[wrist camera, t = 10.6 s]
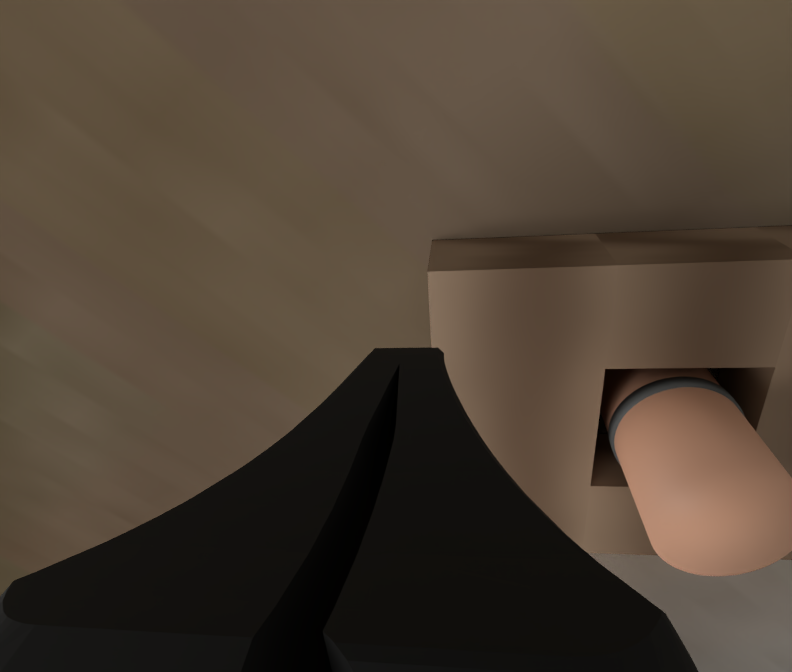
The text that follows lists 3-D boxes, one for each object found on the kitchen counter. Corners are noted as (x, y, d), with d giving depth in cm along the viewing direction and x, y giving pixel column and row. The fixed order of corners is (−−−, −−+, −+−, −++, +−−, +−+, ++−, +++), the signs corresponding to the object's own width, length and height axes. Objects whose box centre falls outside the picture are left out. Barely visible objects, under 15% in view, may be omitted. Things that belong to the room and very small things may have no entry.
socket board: (443, 493, 24) (441, 547, 22) (431, 240, 19) (427, 271, 16) (828, 501, 22) (877, 562, 19) (946, 219, 16) (1037, 251, 14)
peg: (585, 425, 22) (635, 574, 16) (597, 336, 20) (659, 465, 14) (693, 427, 21) (789, 582, 15) (716, 335, 19) (837, 469, 13)
